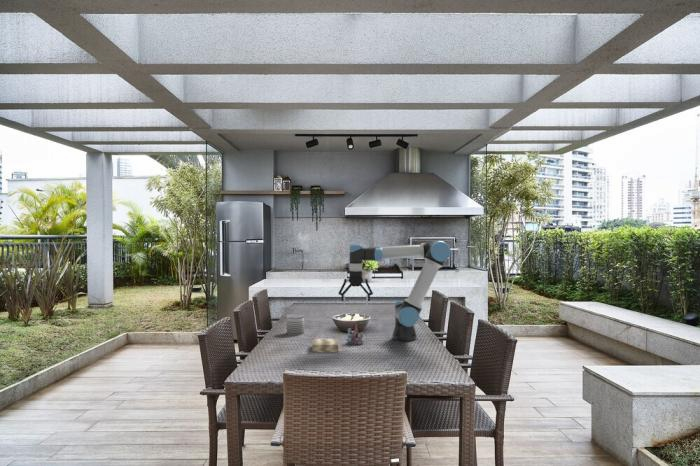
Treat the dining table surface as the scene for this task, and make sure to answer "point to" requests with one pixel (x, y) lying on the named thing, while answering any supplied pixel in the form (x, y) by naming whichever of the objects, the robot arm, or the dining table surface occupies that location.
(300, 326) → the can
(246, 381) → the dining table surface
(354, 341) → the spiky succulent plant
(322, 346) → the oak riser
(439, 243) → the robot arm
